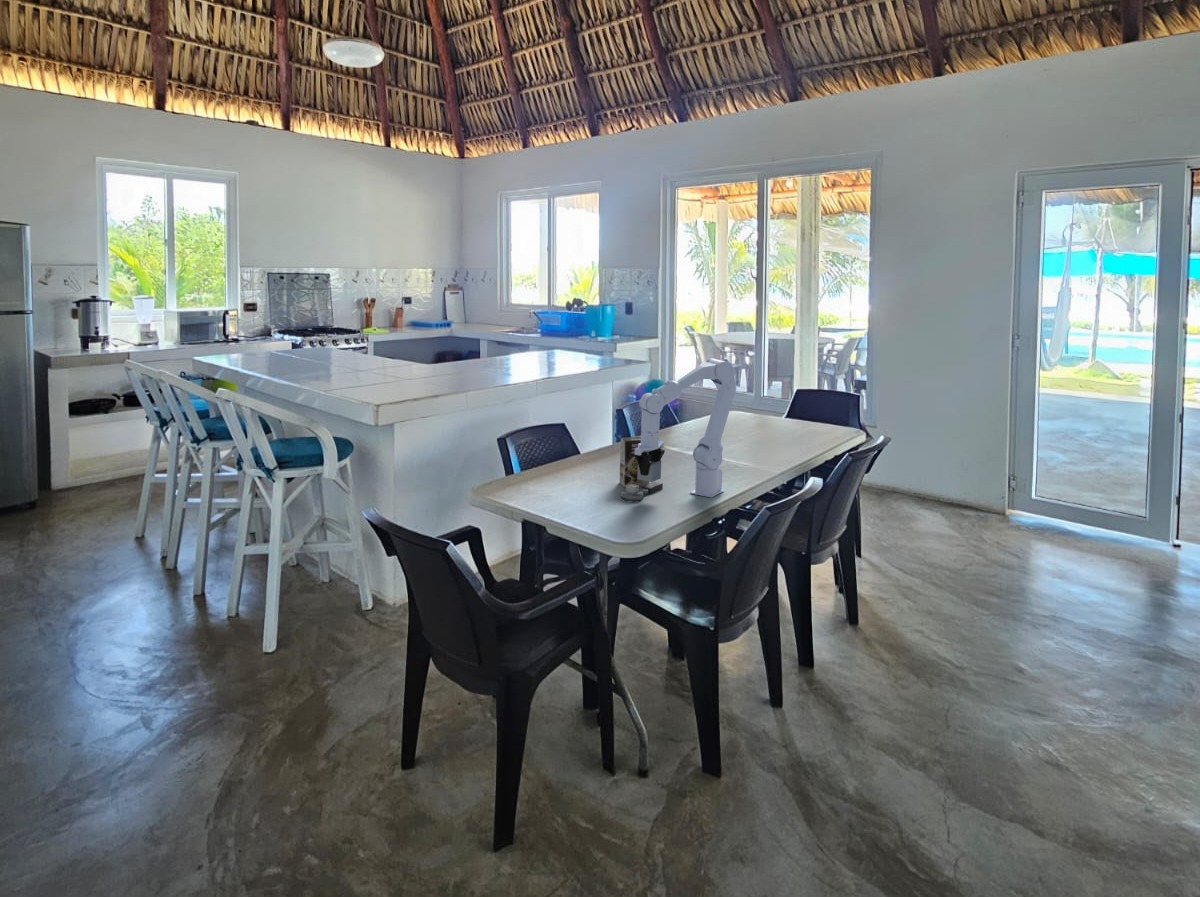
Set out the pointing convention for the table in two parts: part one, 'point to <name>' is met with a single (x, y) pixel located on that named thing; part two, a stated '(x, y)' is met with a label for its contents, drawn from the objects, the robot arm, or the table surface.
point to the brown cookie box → (629, 462)
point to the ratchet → (639, 491)
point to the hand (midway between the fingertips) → (648, 473)
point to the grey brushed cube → (651, 471)
